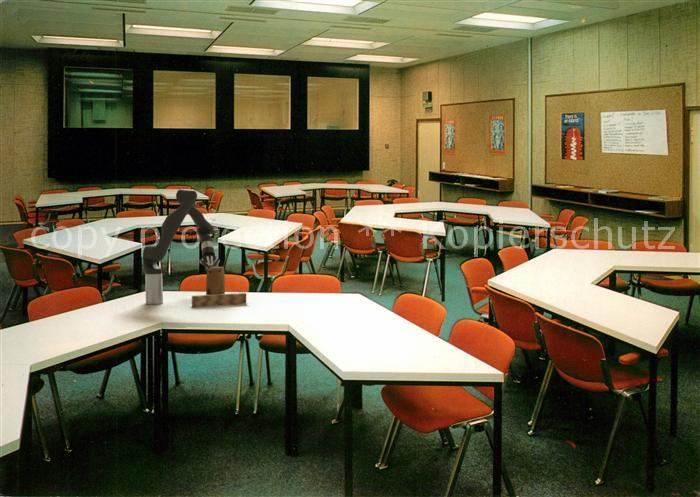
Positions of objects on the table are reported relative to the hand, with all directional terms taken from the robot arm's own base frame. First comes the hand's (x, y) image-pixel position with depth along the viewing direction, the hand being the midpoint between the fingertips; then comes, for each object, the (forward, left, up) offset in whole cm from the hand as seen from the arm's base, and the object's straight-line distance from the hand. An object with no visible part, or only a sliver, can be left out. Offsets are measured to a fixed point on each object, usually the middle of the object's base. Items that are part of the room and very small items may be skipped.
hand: (211, 271), depth 358 cm
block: (0, -16, -15) cm, 22 cm away
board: (0, -30, -15) cm, 34 cm away
